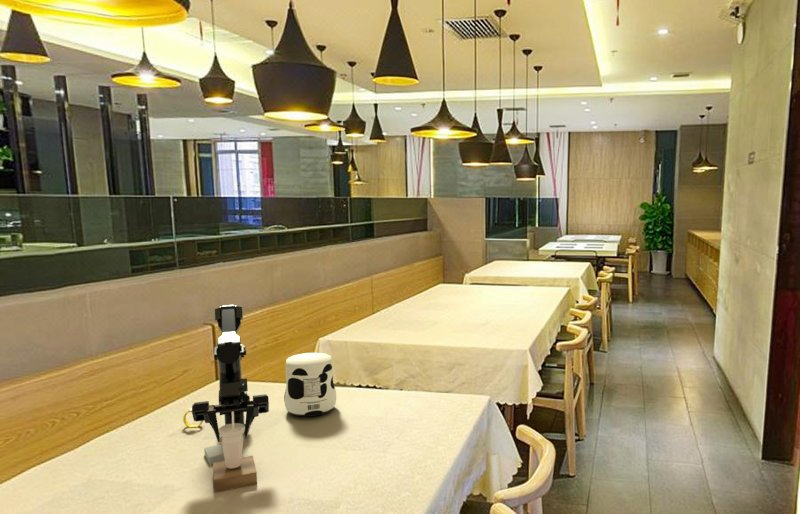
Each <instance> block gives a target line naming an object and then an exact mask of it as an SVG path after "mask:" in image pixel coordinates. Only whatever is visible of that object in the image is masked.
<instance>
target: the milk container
mask: <svg viewBox="0 0 800 514" xmlns="http://www.w3.org/2000/svg"><path fill="white" fill-rule="evenodd" d="M333 374H334V369H333V359H332V355H330V354H328V353H324V352H305V353H299V354H294V355H291V356H288V358H286V360H285V381H286V383H285V384H286V385H285V390H284V391H285V392H284V397H283V399H284V400H283V401H284V407H285V409H286V411H287V412H288V413H290V414H291V415H294V416H298V417H315V416H321V415H323V414H326V413H328V412H330V411H332V410H333V409H334V408H335V406H336V405H337V404H336V403H337V390H336V387H335V383H334V375H333Z"/></svg>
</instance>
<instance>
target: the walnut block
mask: <svg viewBox="0 0 800 514" xmlns="http://www.w3.org/2000/svg"><path fill="white" fill-rule="evenodd" d="M212 468H213V469H212V471H213V474H212V475H213V488H214V490H213V491H214V493H217V492H223V491H228V490H232V489H237V488H242V487H248V486H253V485H258V480H257V479H258V475H257V467H256V464H255V460H254V456H253V455H249V456H248V455H247V456H244V457H243V456H242V459H241V465H240V466H239V467H237V468H227V467H226V464H225V461H219V462H214V463H213V464H212Z"/></svg>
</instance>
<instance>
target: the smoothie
mask: <svg viewBox="0 0 800 514" xmlns="http://www.w3.org/2000/svg"><path fill="white" fill-rule="evenodd" d="M218 429H219V435H220V442H221V444H222V447H223V453H224V458H225V464H226V467H227V468H237V467H239V466H240V465H241V459H242V457H243V446H244V439H245V433H244V432H245V425H243V424H240V423H234V411H232V424H227V425H225V424H224V425H222V426H221V427H219V428H218Z"/></svg>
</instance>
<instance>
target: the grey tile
mask: <svg viewBox="0 0 800 514" xmlns="http://www.w3.org/2000/svg"><path fill="white" fill-rule="evenodd" d="M203 451H204V452H203V453H204V456H205V458H206V461H207V462H208V464H209V465H213V463H214V462H219V461H225V458H224V453H223V447H222V443H219V444H215V445H211V446H206V447H204V448H203Z"/></svg>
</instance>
